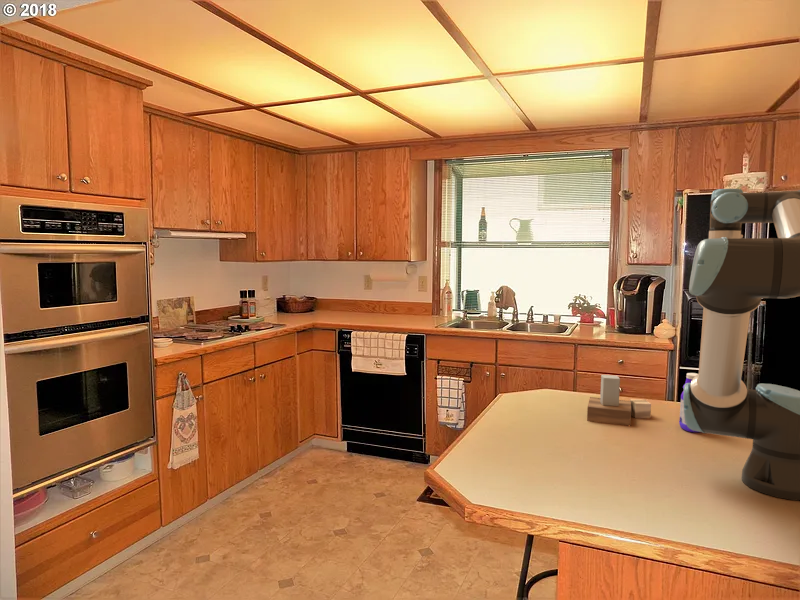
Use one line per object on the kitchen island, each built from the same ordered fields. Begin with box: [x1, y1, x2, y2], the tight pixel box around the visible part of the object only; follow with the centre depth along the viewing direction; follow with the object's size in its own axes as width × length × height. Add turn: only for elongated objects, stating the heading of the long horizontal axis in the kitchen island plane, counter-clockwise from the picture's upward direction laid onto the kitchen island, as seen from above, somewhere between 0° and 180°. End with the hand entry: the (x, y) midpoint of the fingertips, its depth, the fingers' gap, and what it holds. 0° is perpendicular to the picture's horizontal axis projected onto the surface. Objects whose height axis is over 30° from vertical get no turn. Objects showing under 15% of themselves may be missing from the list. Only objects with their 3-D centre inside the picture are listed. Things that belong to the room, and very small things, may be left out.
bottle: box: [678, 372, 700, 433], centre depth 170 cm, size 7×6×17 cm
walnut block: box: [586, 396, 632, 426], centre depth 182 cm, size 13×13×5 cm
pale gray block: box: [599, 374, 621, 406], centre depth 182 cm, size 5×5×9 cm
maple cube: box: [629, 398, 652, 419], centre depth 184 cm, size 5×5×5 cm
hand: (719, 324), depth 153 cm, fingers open, 13 cm apart
